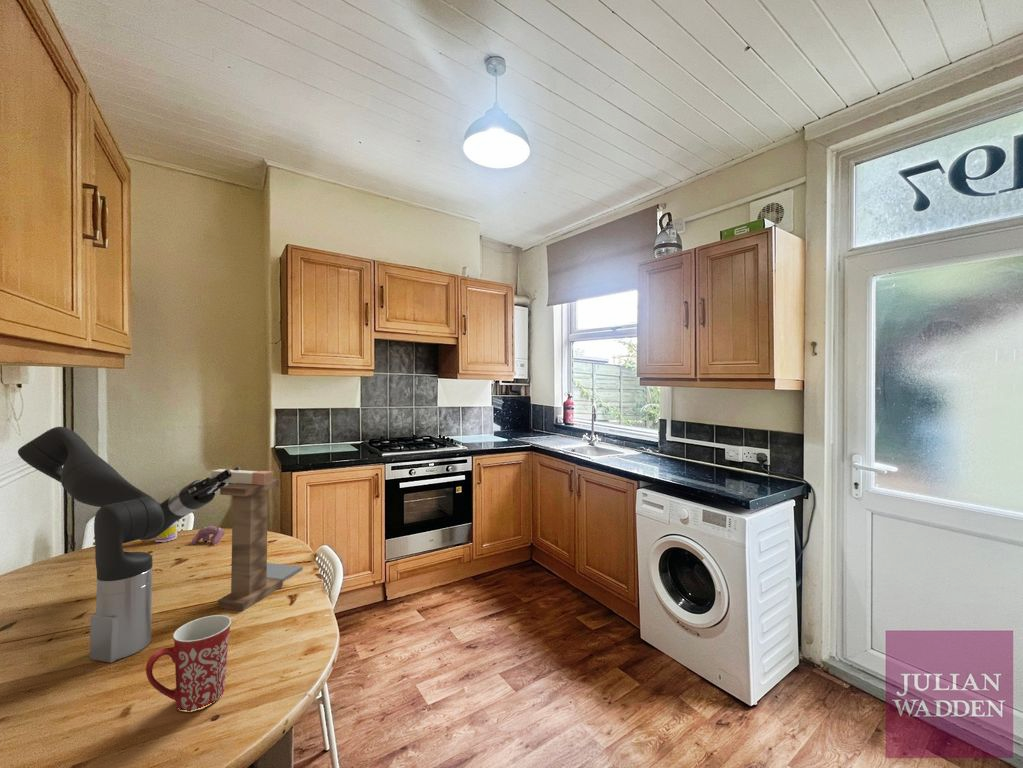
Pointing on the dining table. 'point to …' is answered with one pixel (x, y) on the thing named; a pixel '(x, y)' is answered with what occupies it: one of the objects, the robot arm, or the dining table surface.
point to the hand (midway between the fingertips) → (234, 471)
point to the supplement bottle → (168, 534)
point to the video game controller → (206, 532)
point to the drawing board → (282, 571)
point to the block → (247, 476)
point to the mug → (196, 662)
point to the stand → (249, 546)
